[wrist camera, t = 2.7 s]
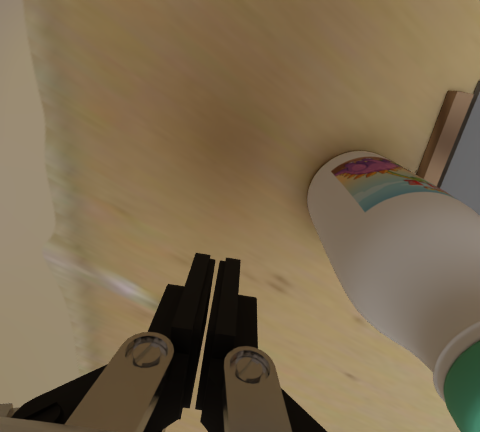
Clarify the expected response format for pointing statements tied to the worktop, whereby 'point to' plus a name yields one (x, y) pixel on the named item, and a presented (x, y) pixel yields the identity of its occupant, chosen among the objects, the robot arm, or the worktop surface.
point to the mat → (465, 159)
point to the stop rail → (444, 135)
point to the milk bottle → (407, 266)
